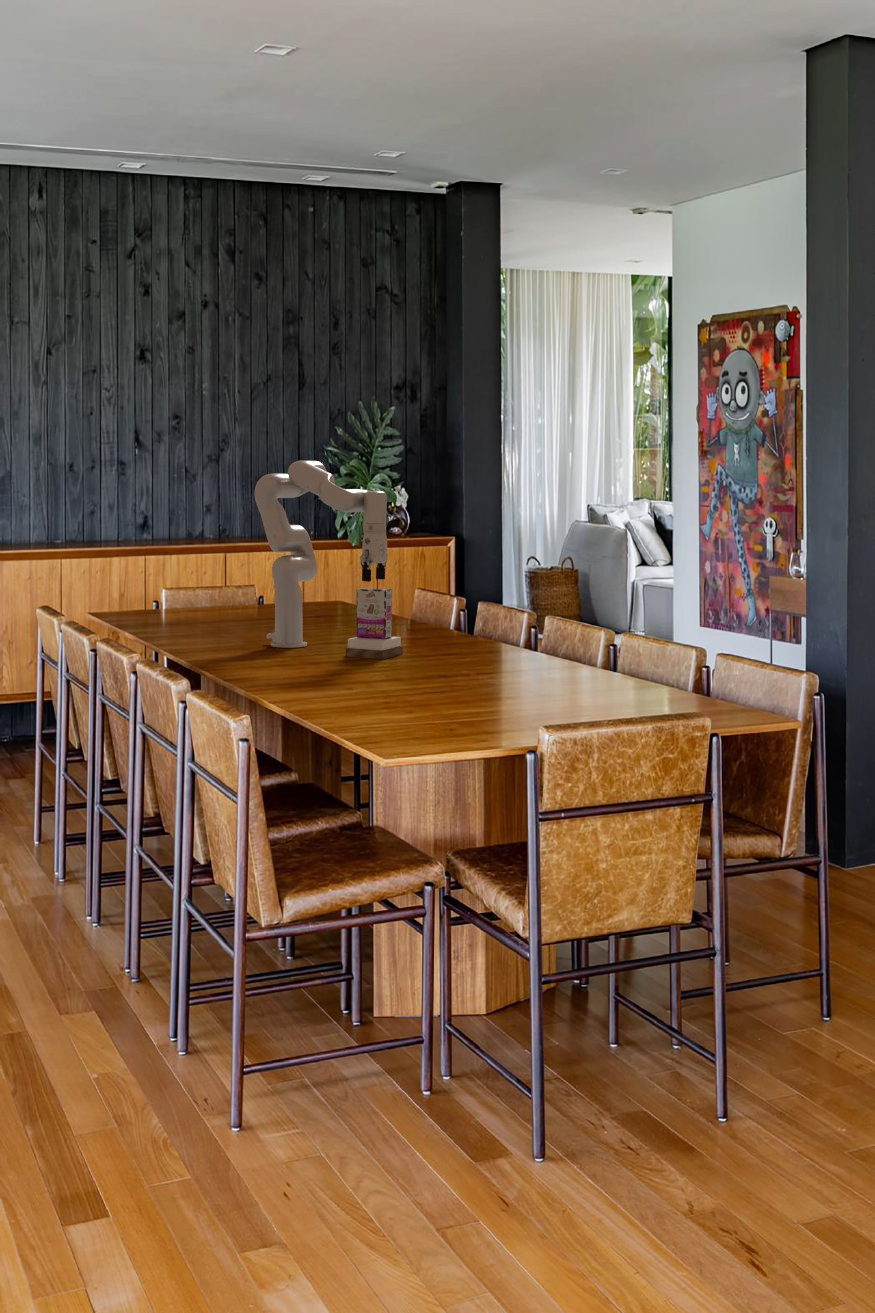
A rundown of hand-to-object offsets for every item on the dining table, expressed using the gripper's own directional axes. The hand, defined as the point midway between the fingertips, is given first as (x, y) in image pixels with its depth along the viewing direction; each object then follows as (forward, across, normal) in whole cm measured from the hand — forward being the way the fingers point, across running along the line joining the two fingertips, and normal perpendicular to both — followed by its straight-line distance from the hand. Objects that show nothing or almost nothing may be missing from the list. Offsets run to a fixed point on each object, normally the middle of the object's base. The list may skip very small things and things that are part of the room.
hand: (373, 580), depth 470 cm
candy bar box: (+19, 0, -1) cm, 19 cm away
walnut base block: (+26, 0, -1) cm, 26 cm away
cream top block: (+22, 0, -1) cm, 22 cm away
